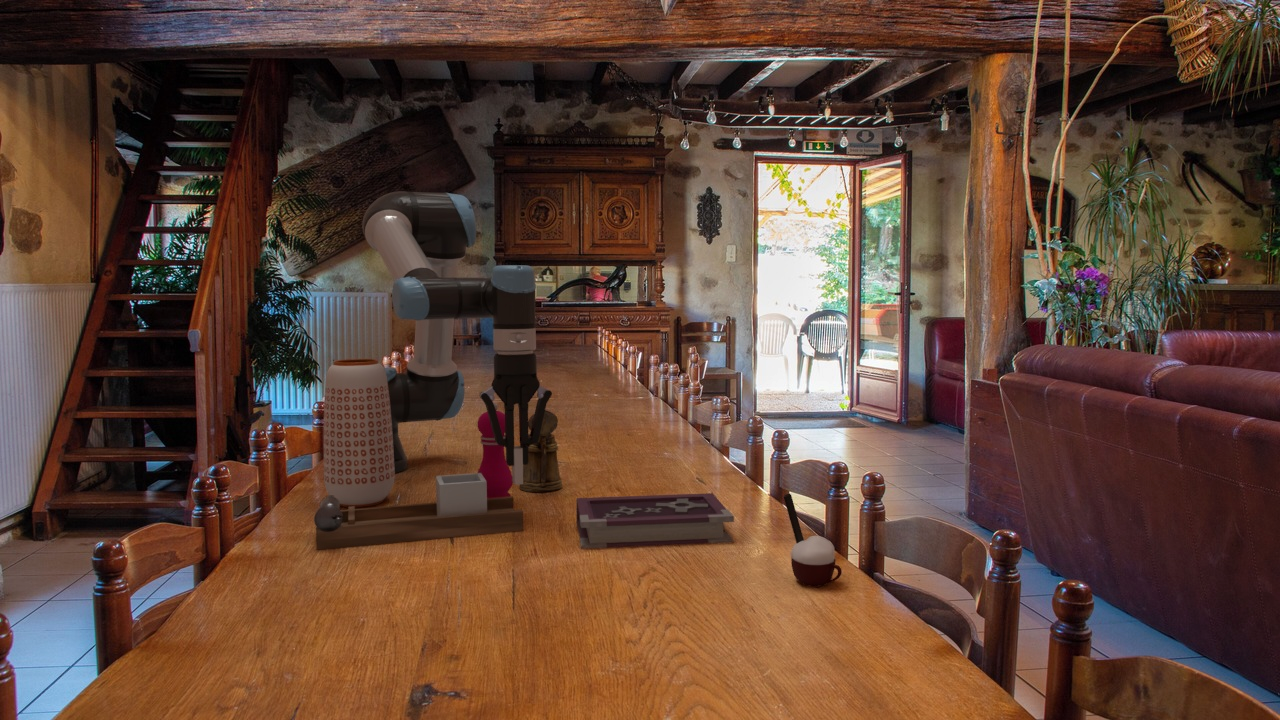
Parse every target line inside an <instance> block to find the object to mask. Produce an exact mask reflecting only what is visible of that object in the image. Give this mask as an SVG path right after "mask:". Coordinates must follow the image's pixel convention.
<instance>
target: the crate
mask: <svg viewBox="0 0 1280 720" xmlns="http://www.w3.org/2000/svg"><path fill="white" fill-rule="evenodd" d="M435 490H436V491H435V492H436V493H435V494H436V495H435V497H436V502H437V516H438V517H442V516H453V515H465V514H477V513H487V481H486V480H485V478H484V477H483V475H482V474H481V473H478V472H473V473H472V472H471V473H459V474H445V475H435Z"/></svg>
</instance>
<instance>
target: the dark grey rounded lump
mask: <svg viewBox="0 0 1280 720" xmlns="http://www.w3.org/2000/svg"><path fill="white" fill-rule="evenodd" d="M341 510H342V509H341V506H340V503H339V500H338V499H337V498H335V497H334V495H329V494H327V495H326V496H325V497H324V498H323V499H322V500H321V502H320V505H319V508H318V509H317V510H316V512H315V514H314V519H313V520H314V521H313V522H314V525H315V527H317V528H318V529H320V530H321V531H322V530H325V529H323V528H329V529H330V528H331V529H332V528H333V527H334V528H335V527H337V528H335V529H333V530H334V531H335V530H336V529H338V528H339V527H340V525H341V524H342V521H343V514H342V512H341ZM329 529H328V530H329ZM331 529H330V530H331ZM333 530H331V531H326V530H325V531H324V532H332V531H333Z"/></svg>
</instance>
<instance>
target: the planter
mask: <svg viewBox="0 0 1280 720" xmlns="http://www.w3.org/2000/svg"><path fill="white" fill-rule="evenodd" d="M384 368H385V367H384V366H383V365H382V364H381V363H380V362H379V361H378V359H373V358H352V359H351V358H350V359H349V358H347V359H337V360H334V361H333V363H332V364H331V365H330V366H329V368H328V370H327V372H326V375H325V384H324V399H323V482H324V483H323V484H324V486H325V490H326V492H327V495H334V497H335V498H337V499H338V500H339V503H340V507H342V508H343V507H344V508H349V507H351V506H355V509H358V508H368V507H373V506H376V505H377V506H378V504H382V503H383V502H384V500H385V499H386V497H387V496H388V495H390V492H391V491H392V489H393V487H394V484H395V479H396V478H395V476H396V473H395V467H394V450H393V434H392V420H391V409H390V398H389V391H388V383H387V376H386V372H385V370H384Z"/></svg>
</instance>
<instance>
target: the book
mask: <svg viewBox="0 0 1280 720" xmlns="http://www.w3.org/2000/svg"><path fill="white" fill-rule="evenodd" d="M575 499H576V502H575V503H576V526H577V531H578V536H579V543H580V549H583V550H584V549H606V548H623V547H624V548H625V547H626V548H627V547H628V548H629V547H645V546H647V547H648V546H651V547H652V546H653V547H654V546H672V545H673V546H674V545H676V546H677V545H695V544H696V545H698V544H724V543H728V544H729V543H733V542H734V539H733V537H732V536H731V535H730V533H728V531H726V529H725V528H724V523H734V522H735V516H734V515H733V514H732V512H731V511H730V510H729V509H727V508H726V507H725V506H724V504H723V503H722V502H721V501H720V500H719V499H718V497H717V496H716V495H715V494H714V493H713V492H711V493H687V494H686V493H682V494H681V493H680V494H658V495H657V494H655V495H627V496H626V495H623V496H601V497H600V496H597V497H596V496H595V497H576V498H575Z"/></svg>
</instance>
